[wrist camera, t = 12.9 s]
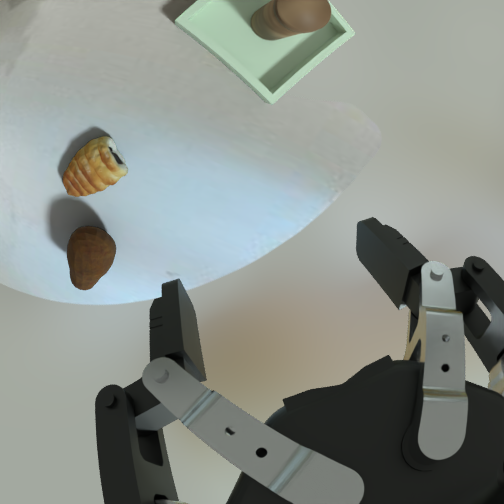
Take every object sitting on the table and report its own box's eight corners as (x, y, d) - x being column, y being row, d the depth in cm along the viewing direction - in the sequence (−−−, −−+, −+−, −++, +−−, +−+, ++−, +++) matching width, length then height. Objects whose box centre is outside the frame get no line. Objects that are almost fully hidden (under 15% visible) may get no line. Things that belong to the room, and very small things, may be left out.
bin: (175, 24, 25) (174, 20, 22) (266, -44, 20) (274, -52, 18) (265, 102, 34) (272, 105, 31) (344, 34, 29) (355, 33, 27)
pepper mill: (240, 21, 26) (267, 2, 17) (270, -1, 24) (306, -24, 16) (269, 48, 29) (306, 41, 20) (297, 26, 27) (342, 14, 18)
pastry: (82, 203, 35) (74, 215, 32) (56, 167, 31) (46, 176, 28) (133, 168, 34) (128, 177, 31) (107, 127, 30) (100, 133, 27)
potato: (72, 261, 39) (60, 294, 33) (77, 208, 35) (60, 237, 29) (113, 270, 43) (106, 305, 36) (123, 219, 38) (114, 250, 32)
